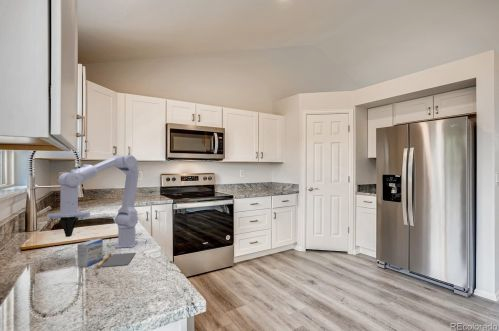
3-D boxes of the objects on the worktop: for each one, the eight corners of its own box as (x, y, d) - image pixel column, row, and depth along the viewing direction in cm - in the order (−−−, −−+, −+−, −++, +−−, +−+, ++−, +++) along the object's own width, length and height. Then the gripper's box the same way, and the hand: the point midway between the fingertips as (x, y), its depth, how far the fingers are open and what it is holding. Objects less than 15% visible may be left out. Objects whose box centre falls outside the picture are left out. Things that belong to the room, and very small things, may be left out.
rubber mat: (113, 255, 108) (113, 254, 108) (135, 253, 110) (135, 252, 110) (102, 267, 94) (102, 266, 94) (127, 265, 96) (127, 264, 96)
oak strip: (108, 256, 106) (108, 253, 106) (111, 256, 107) (111, 253, 107) (96, 268, 93) (96, 265, 93) (99, 268, 93) (99, 265, 93)
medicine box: (86, 267, 94) (87, 244, 94) (76, 266, 95) (77, 243, 95) (103, 260, 102) (103, 238, 102) (93, 259, 103) (93, 238, 103)
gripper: (42, 204, 95) (41, 240, 95) (85, 203, 98) (84, 237, 98) (52, 201, 102) (52, 235, 102) (92, 201, 105) (91, 233, 105)
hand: (68, 236), depth 100 cm, fingers closed
